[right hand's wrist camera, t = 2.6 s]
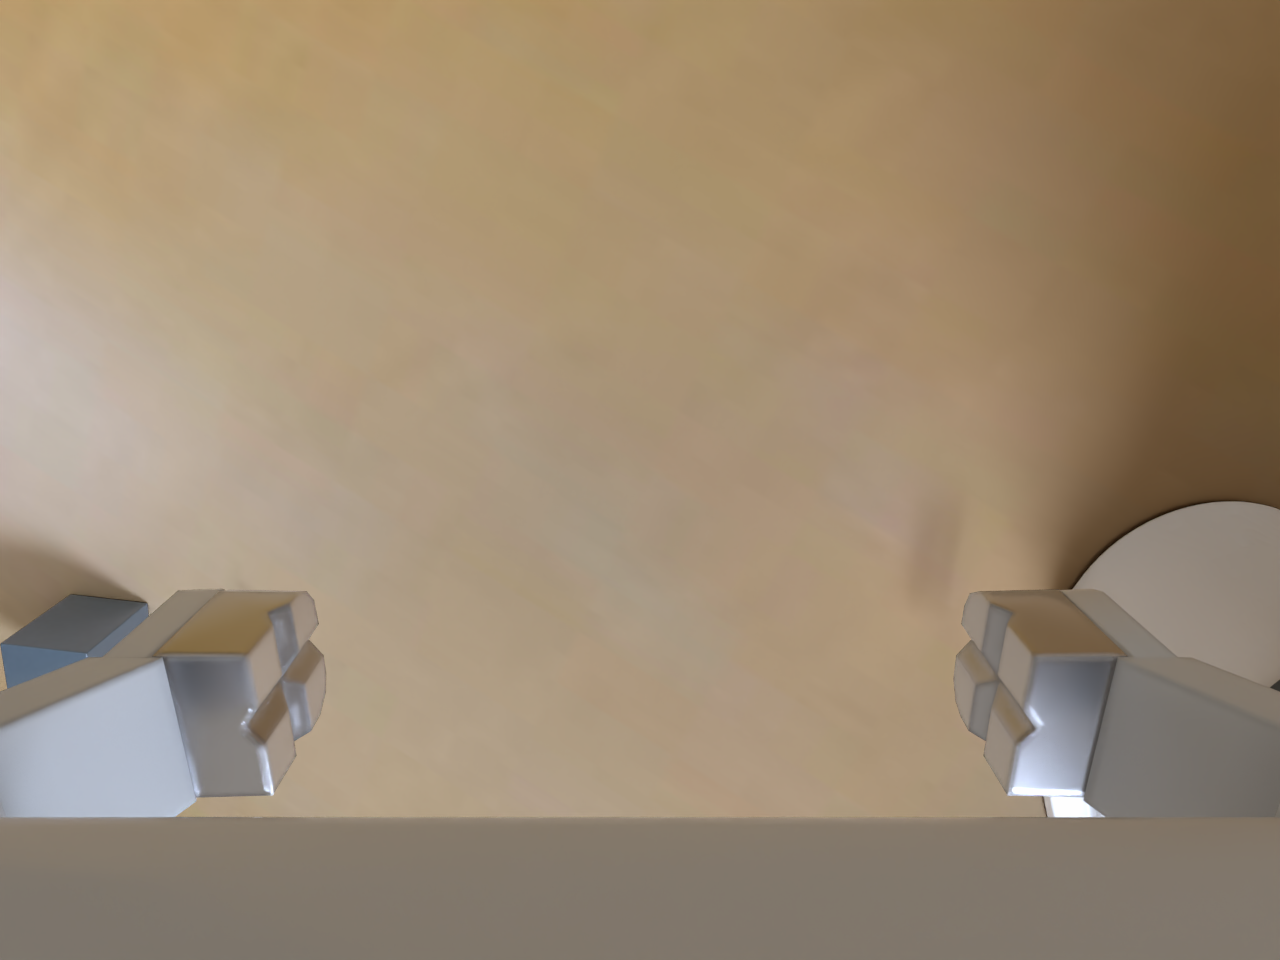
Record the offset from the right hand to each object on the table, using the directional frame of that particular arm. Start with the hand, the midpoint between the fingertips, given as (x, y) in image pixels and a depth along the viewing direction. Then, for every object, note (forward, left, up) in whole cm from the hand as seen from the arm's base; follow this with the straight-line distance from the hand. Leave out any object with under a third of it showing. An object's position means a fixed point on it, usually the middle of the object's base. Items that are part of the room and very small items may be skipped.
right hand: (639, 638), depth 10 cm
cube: (-13, +30, -29) cm, 44 cm away
